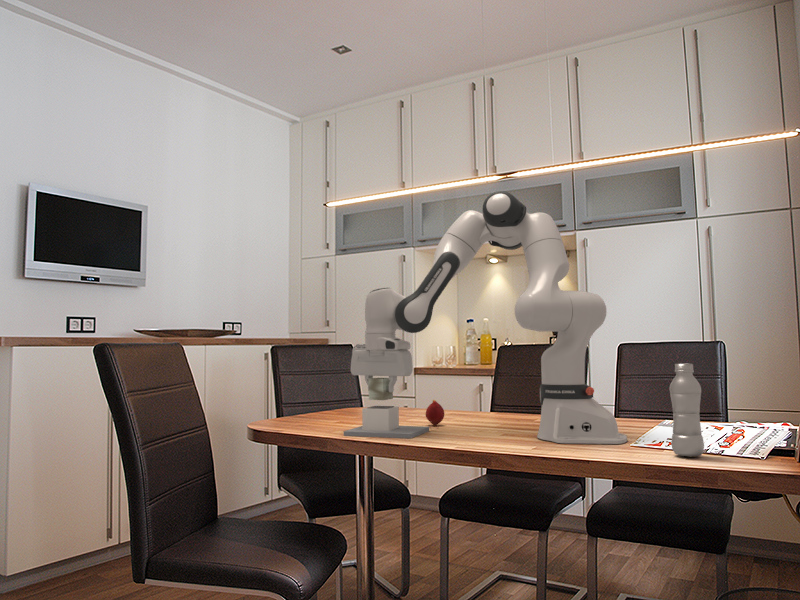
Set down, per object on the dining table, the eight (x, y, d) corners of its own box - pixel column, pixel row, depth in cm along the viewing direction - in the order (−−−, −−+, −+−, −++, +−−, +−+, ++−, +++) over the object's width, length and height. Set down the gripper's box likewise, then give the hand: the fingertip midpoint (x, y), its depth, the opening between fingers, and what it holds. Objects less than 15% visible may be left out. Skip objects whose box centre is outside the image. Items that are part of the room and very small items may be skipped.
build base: (429, 430, 181) (428, 405, 182) (410, 438, 166) (410, 410, 167) (366, 428, 188) (366, 403, 189) (343, 435, 173) (343, 408, 174)
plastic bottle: (694, 453, 138) (690, 363, 139) (711, 459, 131) (706, 364, 132) (666, 454, 137) (662, 363, 139) (681, 459, 131) (676, 364, 132)
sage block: (392, 398, 180) (392, 377, 180) (383, 400, 175) (382, 378, 176) (378, 398, 182) (378, 377, 183) (368, 399, 178) (368, 378, 178)
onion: (444, 424, 195) (444, 398, 196) (444, 426, 190) (443, 400, 190) (426, 424, 196) (426, 399, 197) (425, 426, 190) (424, 400, 191)
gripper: (345, 344, 183) (346, 391, 182) (402, 343, 172) (403, 393, 171) (359, 344, 188) (359, 389, 187) (415, 343, 177) (415, 392, 176)
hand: (380, 391), depth 179 cm, fingers closed on sage block, 5 cm apart
